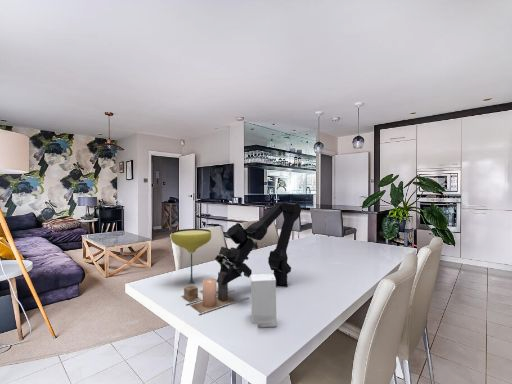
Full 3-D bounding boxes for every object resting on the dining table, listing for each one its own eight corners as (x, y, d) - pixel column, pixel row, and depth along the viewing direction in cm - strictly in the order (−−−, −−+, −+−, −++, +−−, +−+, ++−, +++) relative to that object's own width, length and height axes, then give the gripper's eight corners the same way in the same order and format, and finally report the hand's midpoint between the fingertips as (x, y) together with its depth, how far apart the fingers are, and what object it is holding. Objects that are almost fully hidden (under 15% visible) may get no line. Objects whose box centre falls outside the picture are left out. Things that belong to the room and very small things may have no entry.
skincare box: (274, 317, 91) (274, 273, 91) (277, 328, 84) (277, 279, 84) (250, 318, 91) (250, 273, 91) (251, 328, 84) (251, 280, 84)
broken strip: (211, 290, 115) (211, 287, 115) (221, 296, 109) (221, 293, 109) (180, 299, 106) (180, 296, 106) (189, 306, 100) (189, 302, 100)
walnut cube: (193, 294, 107) (193, 285, 107) (197, 297, 104) (197, 287, 104) (184, 297, 105) (184, 287, 105) (188, 300, 102) (188, 290, 102)
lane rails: (233, 293, 112) (233, 290, 112) (249, 301, 104) (249, 298, 104) (185, 308, 98) (185, 304, 98) (199, 319, 90) (199, 315, 90)
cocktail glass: (170, 281, 127) (170, 229, 126) (207, 277, 133) (207, 227, 133) (172, 295, 110) (172, 236, 109) (215, 289, 116) (214, 233, 116)
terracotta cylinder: (217, 301, 101) (217, 278, 101) (214, 307, 96) (214, 283, 96) (204, 301, 101) (204, 277, 101) (201, 307, 96) (201, 282, 96)
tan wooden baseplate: (225, 296, 108) (225, 268, 108) (237, 303, 102) (237, 273, 102) (189, 307, 98) (189, 276, 98) (200, 315, 92) (200, 282, 91)
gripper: (218, 235, 112) (195, 266, 105) (245, 242, 98) (220, 278, 91) (233, 251, 117) (212, 281, 110) (261, 259, 103) (238, 295, 96)
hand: (219, 283), depth 101 cm, fingers closed on tan wooden baseplate, 3 cm apart
